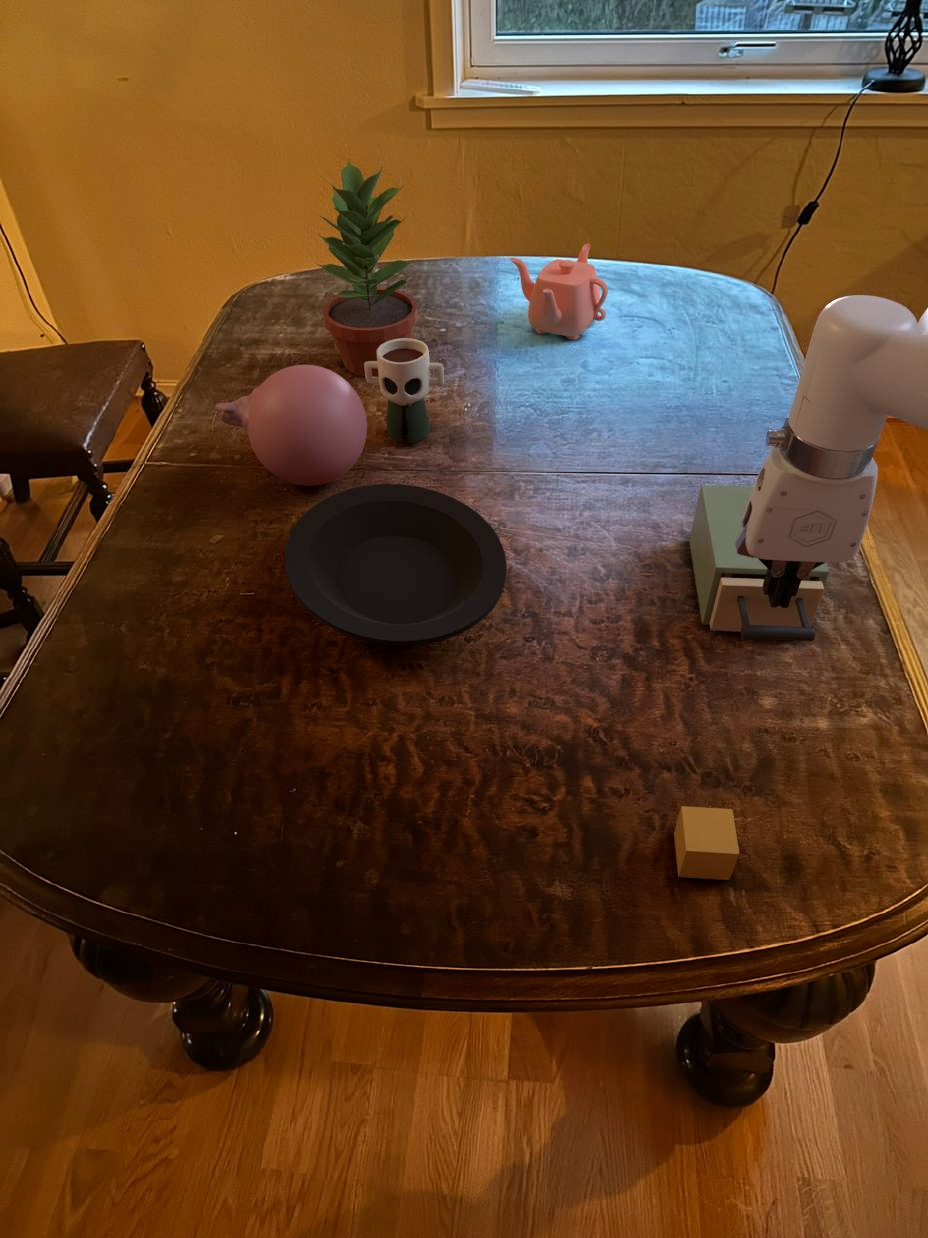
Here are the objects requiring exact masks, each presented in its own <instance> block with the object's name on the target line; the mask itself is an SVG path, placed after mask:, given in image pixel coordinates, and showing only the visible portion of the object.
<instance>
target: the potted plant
mask: <svg viewBox="0 0 928 1238" xmlns="http://www.w3.org/2000/svg"><path fill="white" fill-rule="evenodd" d="M382 170H383V166H381V167H380V169H379V171H378V172H377V173H375V174H372V175H370V176H368V177H367V178H366V179H364V176H363V173H362V170H361V169H360V168H359V167H357V166H355V165H352V164H351V161H350V160H349V158H347V165H346V166H345V167H344V168H343V169H342V170H341V173H340V174H341V175H340V176H341V183H342V189H339V188H336V186H334V185H333V184H331V187H332V191H333V197H332V198H331V201H332V203H333V205H334V207H333V209H334V210H335V211H336V212H338V215H337V217H336V223H337V224H335V223H334V222H332V221H331V220H329V219H327V218H326V217H324V216H321V215H319V217H320V218H321V219H323V220H324V221H325V222H327V223H328V224H329V225H330V226H332V227H333V228H334V229H335V230H337V231H338V232H339V234H340V236H341V238H337V237H334V236H328V237H324V236H323V235H320V234H318V236H319V237H320V238H321V239H322V240H323V241H324V243H325V244H326V245H328V248H327V249H328V251H329V252H330V253H331V254H332V255H333V256H334V257H335V258H336V259H337V260H338V261H339V262H340V263H341V264H342V265H343V266H341V265H338V264H333V263H328V264H323V265H322V264H319V263H316V265H317V266H319V267H320V268H321V270H322V271H323V272H325V273H327V274H329V275H332V276H334V277H335V278H338V279H340V280H342V281H344V282H346V283H348V284H350V285H351V287H352V288H353V289H351V290H341V291H339V292H338V293H337V294H338V295H336V296H334V297H332V298H331V299H330V300H329V301H327V302H326V304H325V305H324V307H323V309H322V311H323V317H324V325H325V329H326V330H327V331H328V332H329V333H330V334H331V337H332V338H333V341H334V343H335V346H336V348H337V351H338V353H339V356H340V358H341V361H342V363H343V365H344V368H346V369H347V371H349V372H350V373H353V374H354V375H356V376H362V377H365V369H364V364H365V362H368V361H377V349H378V348H379V346H380V345H382V344H383V343H385V342H387V341H390V340H394V339H401V338H409V339H412V336H413V332H414V327H416V325H417V323H418V320H419V312H418V305H417V301H416V299H414V298H413V296H411V295H410V294H408V293H405V292H403V291H401V290H399V289H400V288H402V287H403V286H405V285H406V284H408V283H409V282H411V281H412V279H409V280H408V281H407V280H406V279H401V280H398V281H397V282H395V283H393V284H391V285H390V286H387V287H378V285H380V284H382V283H383V282H384V281H386V280H388V279H390V278H391V277H392V276H394V275H396V274H398V273H399V272H400V271H402V270H404V269H406V268H407V267H409V265H410V264H411V263H414V261H415V260H414V259H413V260H411V261H409V262H407V261H405V260H401V259H400V260H399V259H397V260H394V261H392V262H390V263H387V264H386V265H384V266H382V267H381V268H379V269H378V270H376V272H374V268H375V267H376V265H377V263H378V262H379V260H380V259H381V258H382V256H383V254H384V253H385V251H386V249H387V248H388V246H389V245H390V243H391V242H392V239H393V238H394V236H395V230H396V228H397V227H398V226H399V225H401V223H403V222H404V221H405V220H406V218H407V217H405V218H403V219H402V220H399V219H393V218H394V217H395V215H389V216H388V217H386V219H385V220H382V221H379V219H380V216H381V214H382V211H383V208H384V207H385V205H387V203H389V202H390V201H391V200H392V199H393V198H395V196H396V195H397V194H398V193H399V192H400V191H401V190H402V189H403V188H404V187H405V186H406V184H403V185H402V186H401V187H389V188H388V189H387V188H386V190H384V191H381V192H380V193H379V194H378V196H373V197H372V194H373V193H374V191H375V188H376V186H377V183H378V181H379V179H380V177H381V175H382V172H383V171H382ZM371 370H372V377H379V374H378V368H372V369H371Z"/></svg>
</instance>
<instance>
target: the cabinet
mask: <svg viewBox="0 0 928 1238" xmlns="http://www.w3.org/2000/svg"><path fill="white" fill-rule="evenodd" d="M753 486H754V485H727V484H700V488H699V491H698V496H697V502H696V507H695V512H694V516H693V520H692V521H693V522H692V525H691V531H690V535H689V549H690V555H691V562H692V566H693V575H694V580H695V587H696V593H697V599H698V607H699V613H700V618H701V624H702V625H703V626H710V619H711V615H712V611H713V607H714V603H715V599H716V595H717V591H718V587H719V583H720V579H721V576H722V573H734V574H760V575H766V573H767V569H768V568H767V567H766V566H765V565H764V564H763V563H762V562H761V561H760V560H759V559H758V558H752V557H747V556H743V555H739V554H738V553H737V549H736V544H735V543H736V541H737V539H738V537H739V536H740V534H741V532H742V531H743V529H744V528H743V527H742V520H743V515H744V512H745V508H746V505H747V502H748V499H749V497H750V494H751V491H752V489H753ZM759 540H760V539H759ZM829 573H830V570H829V566H828V564H827V562H826V563H824V564H822V565H820V566H819V567H817V568H815V569H813V570H812V571H811V572H810V574H809V576H811V579H810V581H822V583H823V586H824V587H825V584H826V582H827V579H828V577H829Z"/></svg>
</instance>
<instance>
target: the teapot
mask: <svg viewBox="0 0 928 1238" xmlns="http://www.w3.org/2000/svg"><path fill="white" fill-rule="evenodd" d="M590 250H591V244H590V243H589V242H588V243H585V244H583V246H582V247H581V249H580V252H579V255H578V257H577V260H576V261H574V260H571V259H559V258H557V259H554V260H552V261H549V263H548V264H546V265H545V266H543V268H542V269H541V270H540V272H539V273H538V275H537V277H536V279H535V282H534V281H533V279H532V278H531V275H530V272H529V268H528V267H527V265H526V263H525V262H524V261H523V260H521V259H519V258H516V257H509V260H510V261H511V262H512V263H513V264H514V265H515V266H516V268H517V269H518V272H519V278H520V286H521V292H522V294H523V296H524V298H525V299H526V300H527V301H528V302H529V303H528V309H527V317H528V319H527V320H528V322H529V324H530V326H531V328H532V329H534V330H536V332H537V333H538V334H542V335H543V334H554V335H560V336H565V337H566V339H568V340H577V339H579V338H580V335H582V334H583V333H584V332H586V331H587V330H588V329H589V328H590V327H591V326H592V324H593V323H594V321H596V322H601V321H604V320H605V318H606V316H607V313H606V310H605V308H601V307H602V306H603V304H604V303H605V301H606V299H607V296H608V294H609V287H608V284H607V283H606V281H604V280H603V279H602V278H600V277H598V274H597V270H596V267H595V266H594V264H589V263H588V259H589V258H588V257H589V252H590ZM599 313H600V314H599Z"/></svg>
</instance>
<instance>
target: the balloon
mask: <svg viewBox="0 0 928 1238" xmlns="http://www.w3.org/2000/svg"><path fill="white" fill-rule="evenodd" d="M214 410H215V411H216V412H217V413H219V414H220V416H219V418H220V420H221V421H222V422H223V423H224V424H227V425H230V426H233V427H240V428H243V429H244V431H245V433H246V434H247V436H248V440H249V443H250V446H251V449H252V451H253V453H254V455H255V456H256V458H257V460H259V462H260V463H261V465H262V466H263V467H264V468H266V469H267V470H268V471H269V472H270V473H271V474H272V475H274V476H275V477H277V478H278V479H280V480H283V481H285V482H286V483H289V484H293V485H297V486H303V487H312V486H313V487H315V486H321V485H325V484H329V483H332V482H334V481H336V480H338V479H340V478H341V477H343V476H344V475H345V474H347V473H348V472H349V471H350V470H351V469H352V468H353V467H354V465H356V463H357V462H358V460H359V459H360V457H361V455H362V453H363V450H364V448H365V445H366V441H367V435H368V421H367V420H368V418H367V414H366V411H365V407H364V404H363V402H362V400H361V397H360V396H359V394H358V392H357V391H356V390H355V389H354V388H353V386H352V385H351V384H350V383H349V382H348V381H347V380H346V379H345V378H344V377H342V376H340V374H338V373H336V372H334V371H332V370H330V369H328V368H325V367H323V366H319V365H314V364H297V365H292V366H286V367H285V368H282V369H280V370H278V371H276V372H274V373H273V374H271V375H269V376H268V377H267V378H266V379H265V380H264V381H263V382H261V384H260V385H259V386H257V387H255V388H254V389H253V390H252V392H251V393H250V394H249V395H244V396H241V397H239V398H237V399H235V400H234V401H229V402H222V403H221V402H218V403H216V404H215V406H214Z"/></svg>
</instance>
